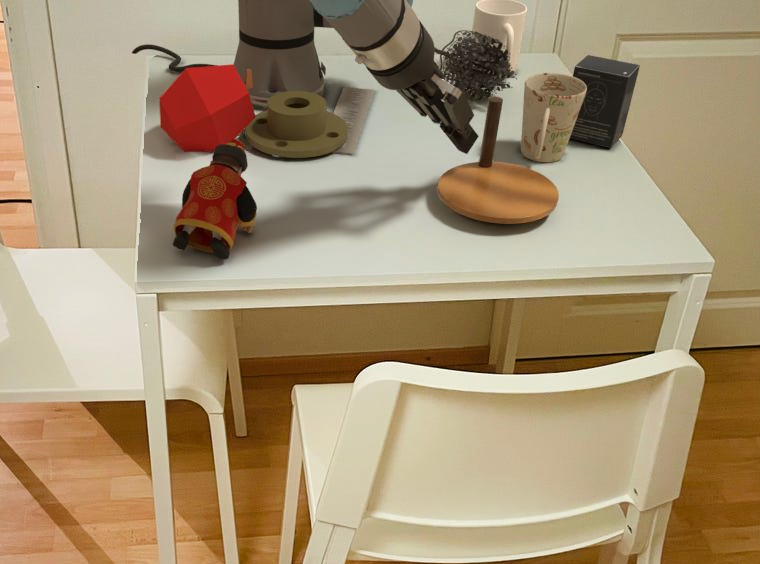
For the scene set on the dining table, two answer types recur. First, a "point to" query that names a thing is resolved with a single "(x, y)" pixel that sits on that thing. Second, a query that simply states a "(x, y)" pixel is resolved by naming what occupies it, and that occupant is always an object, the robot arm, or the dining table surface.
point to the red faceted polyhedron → (206, 107)
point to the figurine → (216, 203)
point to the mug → (549, 114)
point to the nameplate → (352, 115)
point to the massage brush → (476, 64)
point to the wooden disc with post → (497, 184)
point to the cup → (501, 25)
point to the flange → (296, 126)
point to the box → (604, 99)
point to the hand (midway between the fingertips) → (468, 143)
